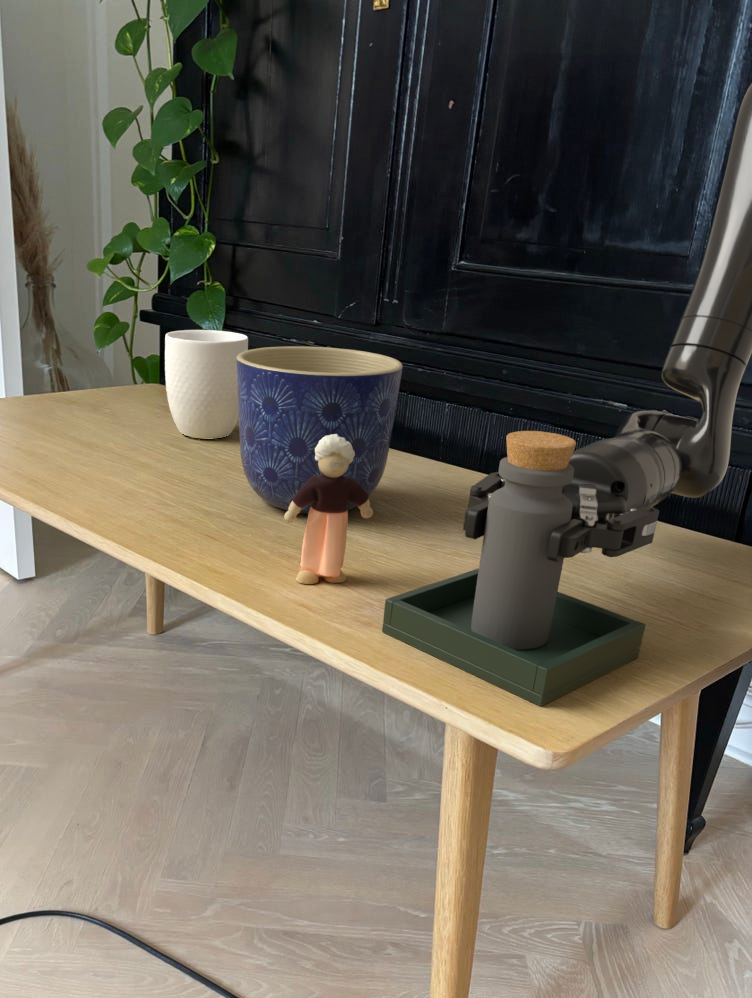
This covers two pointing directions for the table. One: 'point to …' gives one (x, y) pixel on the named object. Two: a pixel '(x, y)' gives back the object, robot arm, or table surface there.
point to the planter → (313, 415)
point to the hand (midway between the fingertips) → (511, 535)
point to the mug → (203, 380)
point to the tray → (526, 673)
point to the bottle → (523, 541)
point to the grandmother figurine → (327, 511)
